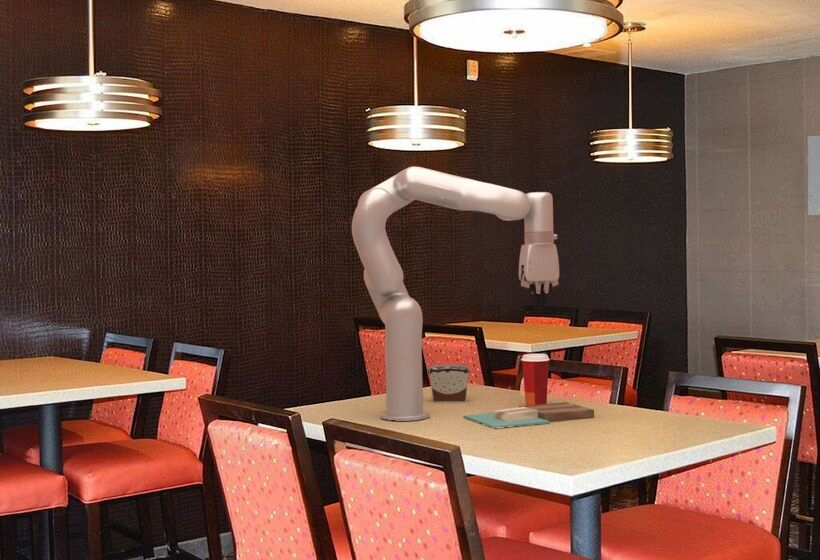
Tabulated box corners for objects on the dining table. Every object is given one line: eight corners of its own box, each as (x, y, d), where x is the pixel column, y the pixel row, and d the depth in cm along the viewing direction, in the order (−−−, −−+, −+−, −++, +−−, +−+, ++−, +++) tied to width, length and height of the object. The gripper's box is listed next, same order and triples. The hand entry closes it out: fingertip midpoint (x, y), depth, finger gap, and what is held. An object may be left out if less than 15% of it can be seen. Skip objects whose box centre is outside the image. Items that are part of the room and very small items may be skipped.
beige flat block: (494, 418, 261) (494, 410, 261) (523, 414, 266) (523, 406, 266) (508, 421, 256) (508, 413, 256) (538, 417, 261) (537, 410, 261)
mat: (463, 417, 267) (463, 415, 267) (515, 412, 272) (515, 410, 272) (495, 429, 250) (494, 426, 250) (549, 423, 256) (549, 421, 256)
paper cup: (552, 404, 285) (551, 353, 285) (548, 408, 278) (547, 356, 277) (523, 403, 287) (522, 353, 287) (519, 408, 280) (518, 356, 279)
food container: (473, 398, 298) (472, 364, 298) (471, 402, 292) (470, 366, 292) (430, 398, 300) (429, 364, 300) (427, 402, 294) (427, 367, 294)
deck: (518, 414, 271) (518, 406, 270) (565, 409, 276) (565, 402, 276) (545, 422, 258) (545, 414, 257) (594, 417, 263) (594, 409, 263)
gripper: (556, 238, 280) (557, 306, 281) (507, 239, 274) (508, 309, 275) (571, 238, 273) (572, 308, 274) (520, 239, 267) (521, 310, 268)
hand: (540, 308), depth 274 cm, fingers closed
